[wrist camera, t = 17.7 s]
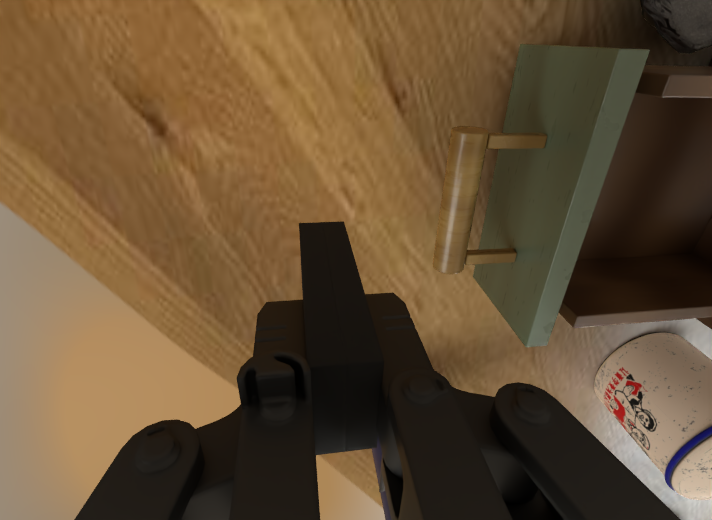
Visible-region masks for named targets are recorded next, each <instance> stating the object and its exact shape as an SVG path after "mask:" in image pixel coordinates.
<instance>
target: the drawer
mask: <svg viewBox="0 0 712 520" xmlns="http://www.w3.org/2000/svg"><path fill="white" fill-rule="evenodd" d="M649 52H650V50H649V49H630V48H608V47H586V46H564V45H543V44H520V47H519V52H518V57H517V62H516V67H515V72H514V77H513V82H512V87H511V92H510V97H509V101H508V106H507V111H506V116H505V121H504V126H503V131H502V133H489V131H488V130H486V129H483V128H479V127H471V126H458V127H454V128H452V130H451V137H450V144H449V151H448V159H447V166H446V173H445V180H444V187H443V194H442V201H441V208H440V215H439V222H438V229H437V237H436V244H435V251H434V258H433V267H434V268H435V269H436V270H437V271H439V272H442V273H445V274H457V273H460V272H462V270H463V269H464V264H465V265H473V264H475V269H474V274H473V277H474V279H475V280H476V281H477V283H478V284H479V285H480V287H481V288H482V289H483V291H484V292H485V293H486V295H487V296H488V297H489V299H490V300H491V301H492V303H493V304H494V305H495V307H496V308H497V309H498V311H499V312H500V313H501V315H502V316H503V317H504V319H505V320H506V321H507V323H508V324H509V325H510V327H511V328H512V329H513V331H514V332H515V333H516V335H517V336H518V337H519V339H520V340H521V341H522V343H523V344H524V345H525V347H535V346H546V345H547V344H548V341H549V338H550V335H551V332H552V329H553V327H554V324H555V321H556V318H557V315H558V312H559V313H560V314H561V315H562V316H563V317H564V318H565V320H566V321H567V322H568V323H569V324H570V325H571V326H572V327H573V328H581V327H593V326H606V325H618V324H630V323H643V322H655V321H668V320H680V319H692V318H705V317H712V66H669V65H645V63H646V60H647V57H648V54H649ZM486 148H487V149H499V151H498V156H497V160H496V165H495V170H494V175H493V180H492V185H491V190H490V195H489V200H488V205H487V210H486V215H485V219H484V224H483V229H482V234H481V239H480V244H479V249H478V250H467V247H468V242H469V237H470V231H471V226H472V220H473V215H474V210H475V204H476V199H477V194H478V188H479V183H480V178H481V172H482V167H483V162H484V156H485V151H486Z"/></svg>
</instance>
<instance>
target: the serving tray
mask: <svg viewBox="0 0 712 520" xmlns="http://www.w3.org/2000/svg"><path fill="white" fill-rule="evenodd" d="M641 6H642V15H643V17H644V18H645V19H646V21H647V22H648V23H649V24H650V25H651V26H653V27H656V29H657V32H658V33H659V34H660V35H661V36H662V37H663V38H664V39H665V40H666V41H667V42H668V43H669V44H670V45H671V46H672V47H673V48H674V49H675V50H676V51H677V52H678V53H688V54H690V53H693V52H695V51H698V50H701V49H703V48H706V47H709V46H711V45H712V0H641Z"/></svg>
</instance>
